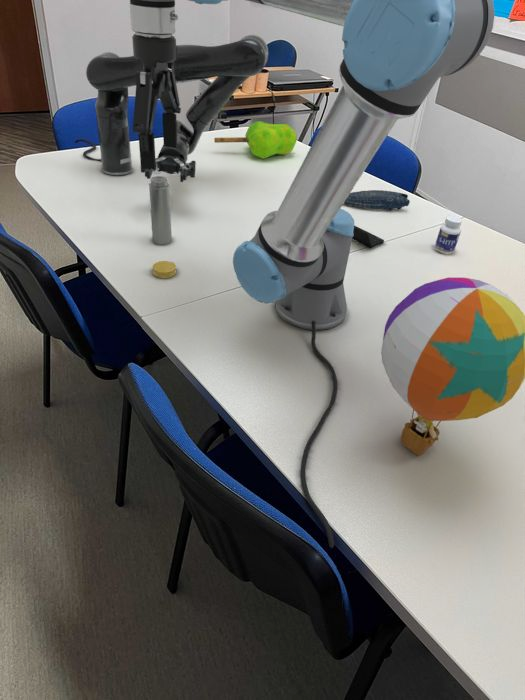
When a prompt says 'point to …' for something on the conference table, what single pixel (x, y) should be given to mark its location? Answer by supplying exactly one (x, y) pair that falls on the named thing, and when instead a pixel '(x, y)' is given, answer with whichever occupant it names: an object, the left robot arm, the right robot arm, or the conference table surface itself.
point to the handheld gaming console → (366, 238)
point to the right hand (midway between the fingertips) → (160, 157)
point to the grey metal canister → (160, 210)
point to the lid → (164, 269)
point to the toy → (453, 354)
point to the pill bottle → (448, 235)
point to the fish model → (378, 199)
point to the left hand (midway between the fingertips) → (165, 176)
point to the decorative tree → (266, 139)
